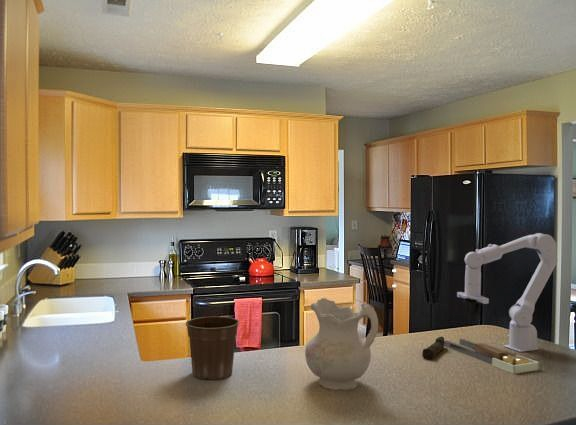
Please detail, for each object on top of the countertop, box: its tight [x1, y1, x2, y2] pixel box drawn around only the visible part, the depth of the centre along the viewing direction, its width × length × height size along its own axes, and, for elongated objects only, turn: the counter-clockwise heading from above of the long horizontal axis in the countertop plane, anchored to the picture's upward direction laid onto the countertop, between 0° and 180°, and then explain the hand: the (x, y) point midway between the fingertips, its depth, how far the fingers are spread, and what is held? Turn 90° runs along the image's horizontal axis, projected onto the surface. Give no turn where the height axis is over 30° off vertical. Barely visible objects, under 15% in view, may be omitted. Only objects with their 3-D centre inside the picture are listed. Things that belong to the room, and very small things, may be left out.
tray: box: [491, 354, 540, 375], centre depth 172 cm, size 11×9×2 cm
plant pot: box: [185, 316, 240, 381], centre depth 159 cm, size 16×16×16 cm
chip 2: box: [515, 356, 528, 365], centre depth 171 cm, size 4×4×3 cm
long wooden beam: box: [474, 342, 509, 361], centre depth 181 cm, size 4×12×4 cm, turn 18°
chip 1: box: [502, 354, 516, 365], centre depth 174 cm, size 4×4×3 cm
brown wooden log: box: [421, 336, 445, 361], centre depth 186 cm, size 19×4×5 cm, turn 145°
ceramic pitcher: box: [304, 297, 379, 391], centre depth 153 cm, size 22×20×25 cm
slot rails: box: [444, 338, 493, 365], centre depth 188 cm, size 9×24×2 cm, turn 24°
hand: (471, 319), depth 198 cm, fingers closed
